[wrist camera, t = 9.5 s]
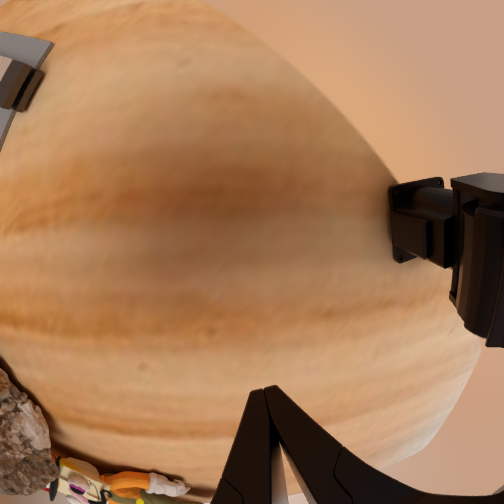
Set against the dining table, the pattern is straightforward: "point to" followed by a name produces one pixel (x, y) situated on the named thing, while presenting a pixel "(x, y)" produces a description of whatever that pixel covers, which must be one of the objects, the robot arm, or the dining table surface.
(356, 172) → the dining table surface
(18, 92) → the layered block
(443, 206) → the robot arm
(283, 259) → the dining table surface
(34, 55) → the mat
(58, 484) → the toy
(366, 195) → the dining table surface
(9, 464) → the rock
